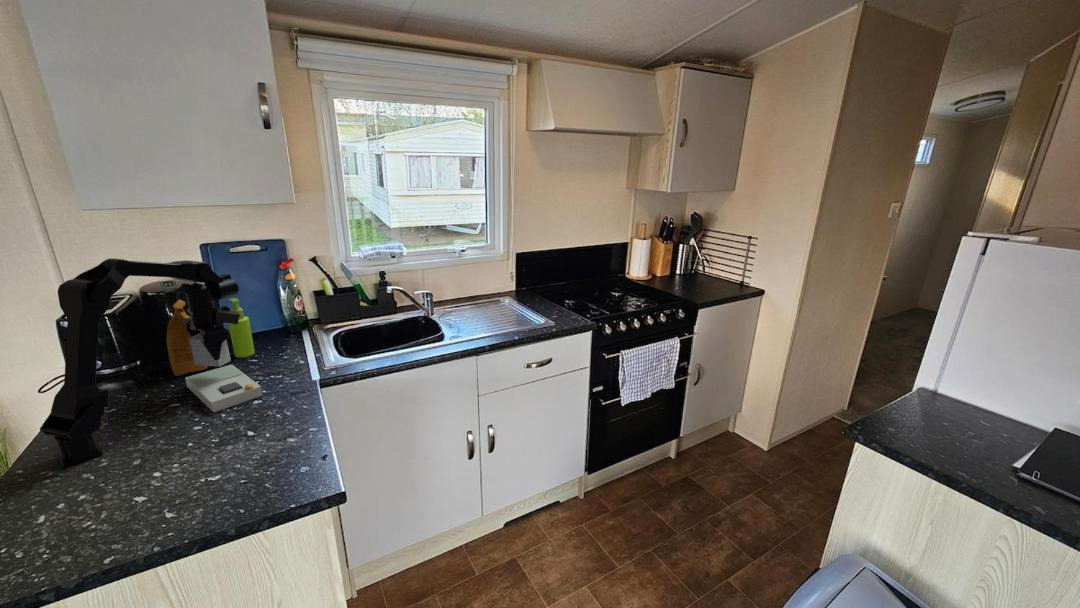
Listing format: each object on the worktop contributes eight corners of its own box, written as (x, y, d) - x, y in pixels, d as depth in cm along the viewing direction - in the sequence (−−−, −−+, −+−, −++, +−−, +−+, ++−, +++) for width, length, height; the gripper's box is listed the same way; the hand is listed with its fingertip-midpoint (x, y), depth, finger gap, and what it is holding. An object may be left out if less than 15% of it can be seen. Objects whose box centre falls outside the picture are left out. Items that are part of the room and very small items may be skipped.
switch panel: (262, 395, 125) (260, 383, 124) (213, 412, 116) (210, 399, 115) (233, 373, 138) (231, 362, 137) (187, 386, 129) (184, 375, 128)
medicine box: (231, 361, 129) (226, 334, 127) (219, 367, 125) (213, 339, 123) (207, 359, 130) (201, 332, 128) (194, 365, 126) (188, 337, 123)
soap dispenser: (250, 348, 156) (240, 295, 151) (257, 353, 152) (247, 299, 146) (231, 353, 152) (220, 299, 146) (238, 359, 148) (227, 303, 142)
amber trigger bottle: (212, 357, 148) (199, 296, 142) (210, 371, 138) (196, 306, 132) (175, 363, 143) (159, 300, 137) (170, 378, 133) (153, 311, 127)
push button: (242, 396, 124) (240, 386, 123) (226, 401, 121) (224, 391, 120) (237, 391, 126) (235, 381, 125) (221, 396, 123) (219, 386, 122)
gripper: (246, 305, 123) (255, 355, 128) (222, 293, 134) (231, 340, 138) (199, 314, 115) (210, 368, 119) (177, 300, 125) (188, 350, 130)
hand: (211, 355), depth 127 cm, fingers closed on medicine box, 9 cm apart
